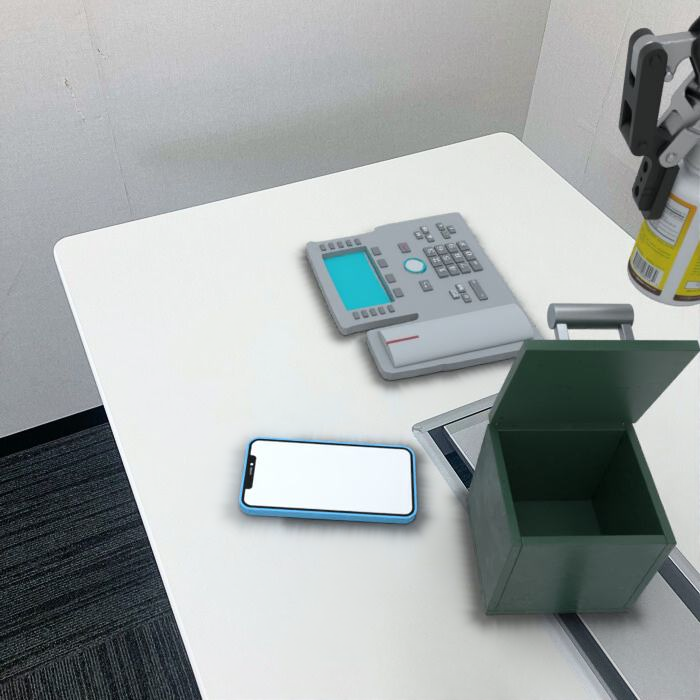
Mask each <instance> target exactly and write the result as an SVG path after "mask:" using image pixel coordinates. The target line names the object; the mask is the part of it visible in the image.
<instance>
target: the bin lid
mask: <svg viewBox="0 0 700 700" xmlns="http://www.w3.org/2000/svg"><path fill="white" fill-rule="evenodd" d="M547 307H548V308H547V312H546V323H547V326H548V328H549V329H550V330H553V332H554V338H555V339H544V340H524V342H523V344H522V346H521V348H520V350H519V352H518V354H517V356H516V357H514V361H513V363H512V365H511V366H510V369H509V371H508V373H507V374H506V377H505V379H504V382H503V383H502V385H501V388H500V390H499V391H498V393H497V396H496V398H495V399H494V401H493V404H492V406H491V408H490V410H489V412H488V414H487V416H488V417H487V418H488V424H630V423H632V424H636V423H638V421H639V420H640V419H641V418H642V417H643V416H644V415H645V414H646V412H647V411H648V410H649V409H650V408H651V407H652V405H654V403H655V402H656V401H657V400H659V398H660V397H661V395H663V393H665V391H666V390H667V389H668V388H669V387H670V386H671V384H673V382H674V381H676V379H677V378H678V377H679V376H680V375H681V373H682V372H683V371H684V370H685V369H686V368H687V367H688V365H690V363H691V362H692V361H693V360H694V358H696V356H697V355H698V354H699V353H700V343H699V340H698V339H635V335H634V332H633V325H634V322H635V310H634V307H633V305H632V304H631V303H598V302H597V303H584V302H583V303H581V302H579V303H577V302H573V303H571V302H567V303H566V302H564V303H563V302H558V303H557V302H551V303H549V304H548V306H547ZM569 330H589V331H590V330H593V331H594V330H595V331H596V330H597V331H599V330H601V331H603V330H604V331H605V330H615V331H616V330H617V331H618V335H619V339H570V335H569Z"/></svg>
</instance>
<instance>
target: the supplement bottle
mask: <svg viewBox="0 0 700 700" xmlns="http://www.w3.org/2000/svg"><path fill="white" fill-rule="evenodd" d="M678 166H679V167H680V170H679V172H678V175H677V177H676V180H675V182H674V185H673V187H672V190H671V192H670V195H669V197H668V200H667V202H666V205H665V207H664V210H663V212H662V215H661V217H660V219H659V220H645V219H644V218H643V219H642V223H641V224H640V225H641V226H640V229H639V231H638V234H637V237H636V239H635V242H634V244H633V247H632V250H631V253H630V255H629V258H628V261H627V267H626V271H627V277H628V280H629V281H630V283H631V284H632V285H633V286H634V288H635V289H636V290H637V291H638V292H639V293H640V294H641V295H643V296H645V297H647V298H648V299H650V300H652V301H654V302H657V303H660V304H664V305H667V306H671V307H681V308H683V307H694V306H697V305H700V140H699V141H698V142H697V143H696V144H695V145H694V146H693V147H692V149H691V150H690V151H689V152H688V153H687V154H686V155H685V156H684V157H683V159H682V160H681V161H680V162H679V163H678Z"/></svg>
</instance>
